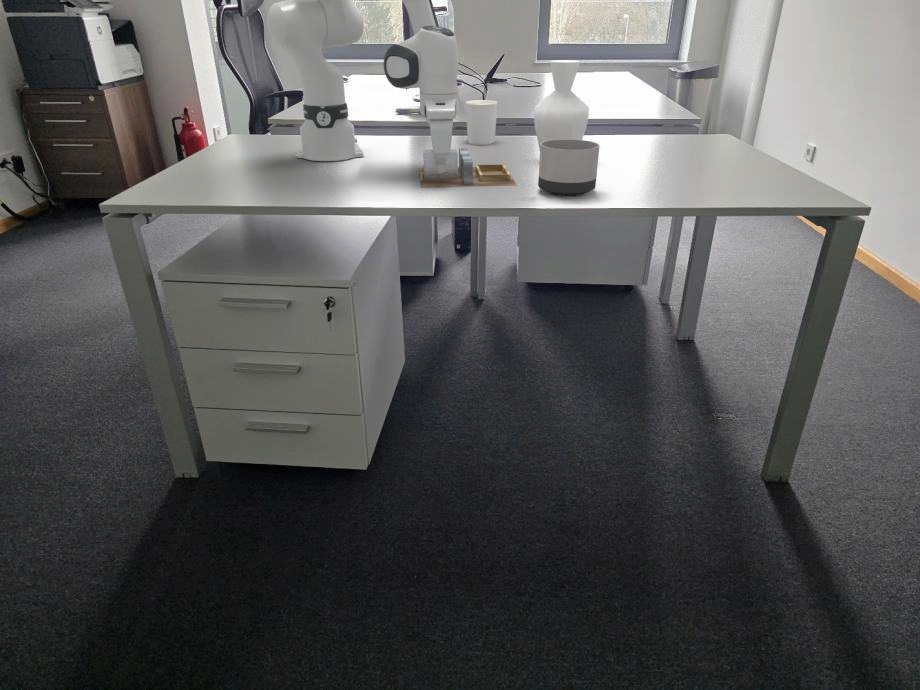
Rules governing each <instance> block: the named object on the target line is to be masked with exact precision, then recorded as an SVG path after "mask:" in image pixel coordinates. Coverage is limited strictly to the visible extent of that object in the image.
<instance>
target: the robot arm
mask: <svg viewBox="0 0 920 690" xmlns="http://www.w3.org/2000/svg"><path fill="white" fill-rule="evenodd" d="M401 2H402V3H403V4H404V6H405V9H406V11H407V14H408V18H409V20H410V24H411V26H412V31H413V34H414V35H413V36H412V37H409V38H408V39H406V40H404V41H401V42H399V43H398V42H397V43H395V44H393V45H390V47H388V48H387V50H386V52H385V53H384V58H383V71H384V75H385V77H386V79H387V80H388V82H389V83H390V84H391V85H392V87H395V88H397V89H403V90H405V89H417V88H419V89H418V90H419V111H420V113H419V114H420V115H422V116H423V117H425V122H426V123H428V125H429V130H430V140H431V145H432V150H433V152H434V155H437V170H438V172H439V173H444V172H445V163H446V155H449V154H450V150H451V149H452V148H451V147H452V140H453V139H452V138H453V126H454V125H453V124H454V120H455V119H456V117H457V115H458V114H459V112H460V111H459V110H460V109H459V105H460V104H459V101H460V100H459V94H460V93H459V87H458V75H459V50H458V43H457V42H458V41H457V37H456V34H455V32H454V31H452V30H451V29H449V28H448V27H443V26H439V22H438V18H437V14H436V12H435V11H436V10H435V8H434V4H433V1H432V0H401ZM266 24H267V28H268V32H269V35H270V36H271V38H272V40H273V41H274V42H275V43H276V44H277V45H279V46H280V47H281V48H282V49H283V50H284V51H285V52H286V53H287V54H288V55H289V56H290V58H291V59H292V61H293V62H294V63H295V66H296V68H297V71H298V74H299V78H300V82H301V88H302V95H303V105H302V112H303V118H304V122H303V123H301V125H300V126H299V131H300V143H301V151H299V152H296V158H298V159H305V160H309V161H313V162H314V161H315V162H336V161H337V162H338V161H344V160H349V159H354V158H359V157H364V155H365V154H364V151H363V150H362V148H361V147H360V146H359V144H358V140H357V137H356V136H355V134H356V133H355V127H354V125H353V123H352V122H351V121H350V120H349V118H348V117H349V109H348V104H347V102H346V96H345V85H344V82H345V81H344V75H343V73H342V72H341V70H340V69H339V68H338V66H336V65H334V64H333V63H331V62H330V61H327V59H326V57H324V53H323V50H322V48H336V47H340V48H342V47H346V46H350V45H352V44H357V43H358V42H359V41H360V40H361V39H362V36H363V33H364V28H365V27H364V26H365V22H364V18H363V14H362V12H361V10H360V8H359V7H358V6H357V5H356V4H355V2H353V1H352V0H282V1H278V2H274V3H273V4H272V5H271V6H270V8H269V10H268V12H267V17H266Z"/></svg>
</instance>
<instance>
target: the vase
mask: <svg viewBox="0 0 920 690" xmlns="http://www.w3.org/2000/svg"><path fill="white" fill-rule="evenodd" d="M580 63H581V61H580V60H566V59H564V60H560V59H559V60H558V59H557V60H550V61H549V65H550V70H551V75H552V81H553V86H554V91H552V92H551V93H549V95H547V96H546V97H545V98H543V99H542V100H541V101H540V102H539V103H537V104H536V105H535V106H534V113H533V122H534V129H535V135H536V138H537V144H538V149H539V151H540V144H541V143H542V142H544V141H548V140H557V139H575V140H583V138H584V135H585V132H586V130H587V127H588V121H589V115H590V107H589V105H587V104H586V103H585V102H584V101H583V100H582V99H581V98H580V97H578V96H577V95H576V94H575V93H574V92H573V91H572V88H573V84H574V81H575V78H576V75H577V72H578V71H579V70H578V69H579V67H580Z"/></svg>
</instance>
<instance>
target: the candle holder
mask: <svg viewBox="0 0 920 690" xmlns="http://www.w3.org/2000/svg"><path fill="white" fill-rule="evenodd" d="M498 104H499V101H496V100H487V99H482V100H481V99H476V100H475V99H473V100H467V101H465V111H466V114H465V115H466V130H467V131H466V132H467V143H468V144H470V145H473V146H486V145H487V146H489V144H490V145H493V144H495V139H496V128H497V127H496V126H497V115H498ZM492 143H493V144H492Z"/></svg>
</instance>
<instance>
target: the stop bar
mask: <svg viewBox="0 0 920 690" xmlns="http://www.w3.org/2000/svg"><path fill="white" fill-rule="evenodd" d="M422 156H423V158H422V159H423V168H424V179H447V178H458V167H459V151H458V149H457V148H451V150H450V154H449V155H446V163H445V172H444V173H439V172H438V170H437V155H434V152H433V149H423V150H422Z"/></svg>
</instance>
